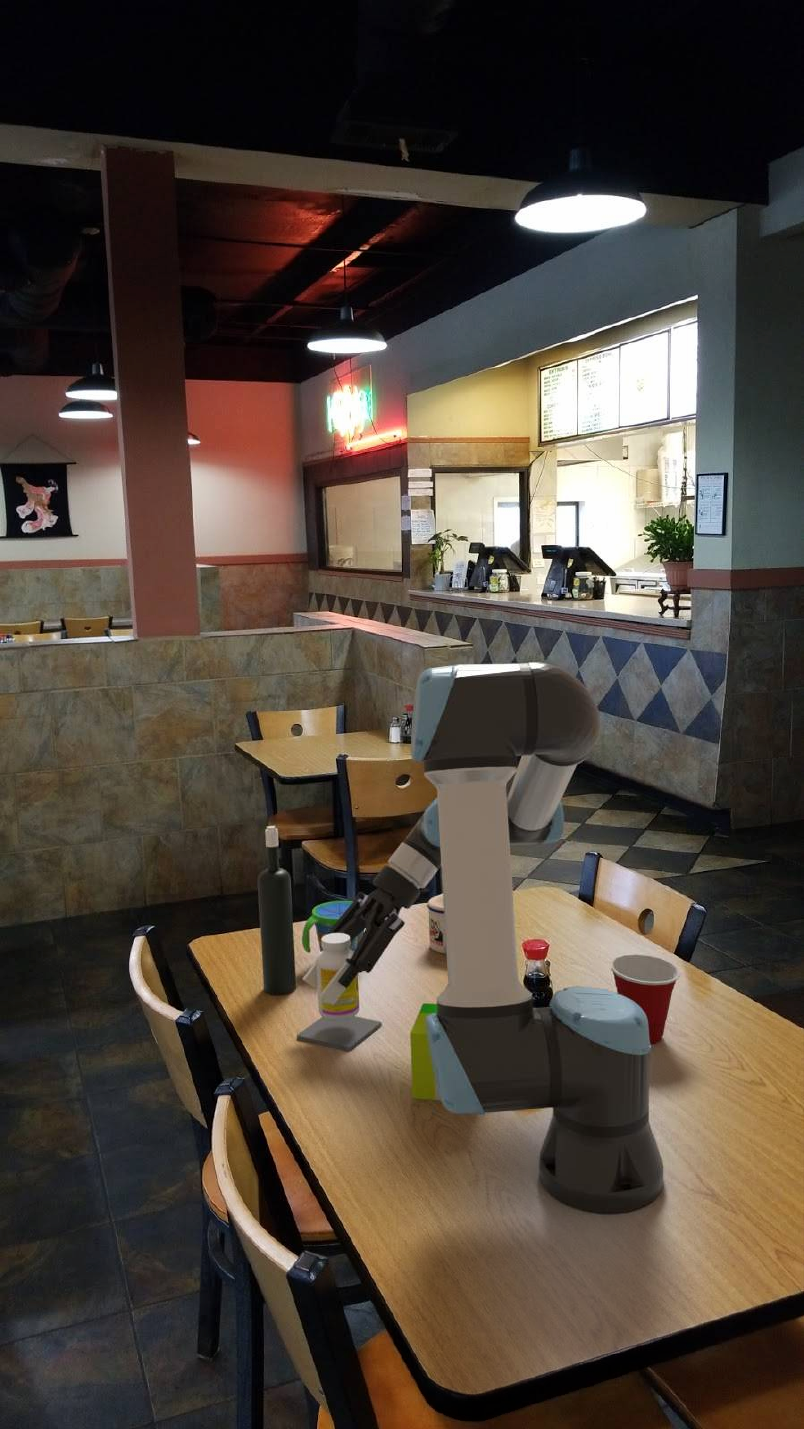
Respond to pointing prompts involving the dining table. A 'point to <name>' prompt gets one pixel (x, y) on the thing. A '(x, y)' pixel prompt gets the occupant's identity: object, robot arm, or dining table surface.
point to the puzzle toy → (422, 1057)
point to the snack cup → (326, 922)
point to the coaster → (339, 1032)
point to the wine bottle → (276, 922)
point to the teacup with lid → (437, 924)
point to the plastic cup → (647, 987)
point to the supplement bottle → (327, 968)
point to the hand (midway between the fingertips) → (317, 991)
